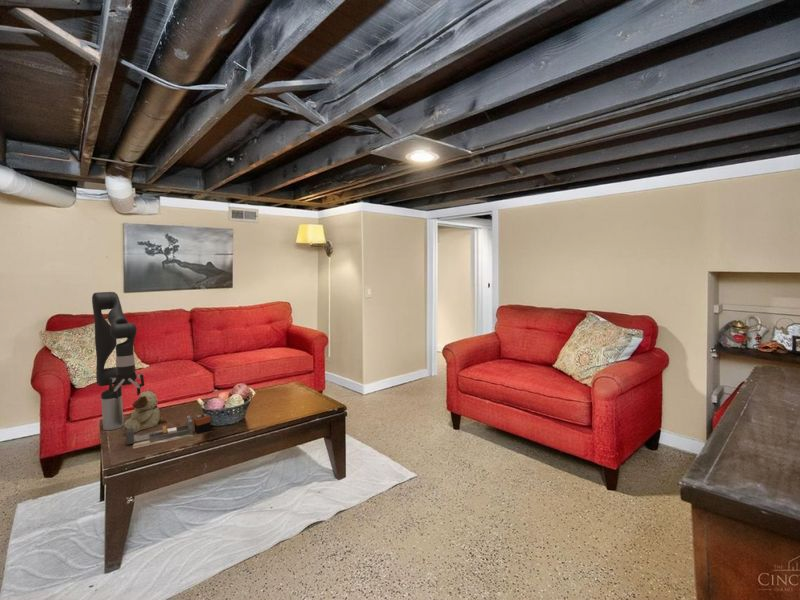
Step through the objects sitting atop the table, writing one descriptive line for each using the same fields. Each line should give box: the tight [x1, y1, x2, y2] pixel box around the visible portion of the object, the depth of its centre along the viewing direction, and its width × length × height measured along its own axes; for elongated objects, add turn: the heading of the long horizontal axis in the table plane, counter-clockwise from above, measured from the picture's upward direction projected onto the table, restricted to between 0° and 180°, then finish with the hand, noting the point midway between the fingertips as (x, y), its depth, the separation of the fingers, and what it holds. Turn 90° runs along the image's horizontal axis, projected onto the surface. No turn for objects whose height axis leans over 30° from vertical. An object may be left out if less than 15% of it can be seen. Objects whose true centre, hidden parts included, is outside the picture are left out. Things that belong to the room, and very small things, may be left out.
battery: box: [193, 413, 212, 435], centre depth 213 cm, size 4×7×10 cm, turn 139°
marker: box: [167, 426, 177, 434], centre depth 208 cm, size 4×4×3 cm
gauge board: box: [132, 415, 194, 449], centre depth 206 cm, size 14×26×8 cm, turn 124°
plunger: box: [125, 425, 168, 445], centre depth 202 cm, size 5×17×6 cm, turn 124°
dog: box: [123, 390, 168, 434], centre depth 221 cm, size 23×19×20 cm
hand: (127, 396), depth 196 cm, fingers open, 8 cm apart
